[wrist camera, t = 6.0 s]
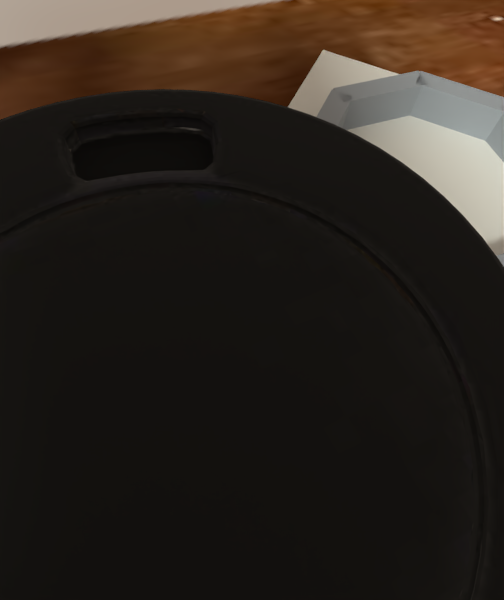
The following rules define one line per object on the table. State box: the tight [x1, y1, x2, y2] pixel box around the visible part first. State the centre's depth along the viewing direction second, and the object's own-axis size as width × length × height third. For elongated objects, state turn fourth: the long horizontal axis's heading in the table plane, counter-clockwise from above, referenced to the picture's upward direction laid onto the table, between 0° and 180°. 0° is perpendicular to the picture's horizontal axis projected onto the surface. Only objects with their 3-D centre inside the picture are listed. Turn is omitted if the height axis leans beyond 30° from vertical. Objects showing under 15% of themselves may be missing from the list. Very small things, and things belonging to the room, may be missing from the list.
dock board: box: [288, 50, 504, 266], centre depth 24 cm, size 18×18×4 cm
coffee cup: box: [0, 89, 504, 600], centre depth 11 cm, size 9×9×15 cm
